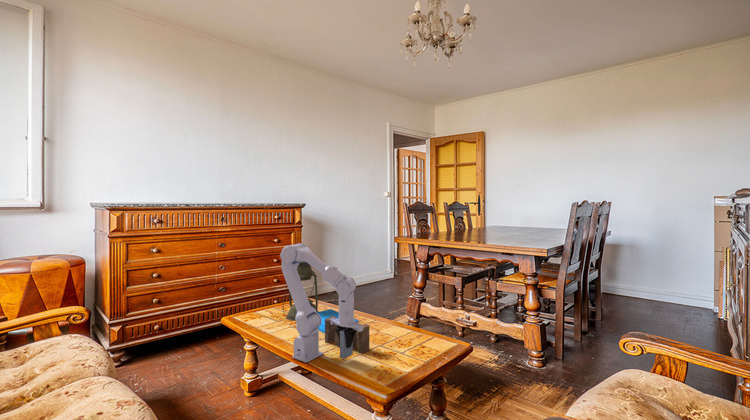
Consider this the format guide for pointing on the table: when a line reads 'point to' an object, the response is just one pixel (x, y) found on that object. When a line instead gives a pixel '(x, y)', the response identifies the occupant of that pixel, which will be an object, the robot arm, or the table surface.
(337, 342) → the domino
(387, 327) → the table surface
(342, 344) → the domino
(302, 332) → the robot arm
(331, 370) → the table surface
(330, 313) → the book
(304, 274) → the lantern
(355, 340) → the domino
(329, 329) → the domino
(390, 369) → the table surface
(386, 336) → the table surface
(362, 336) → the domino
